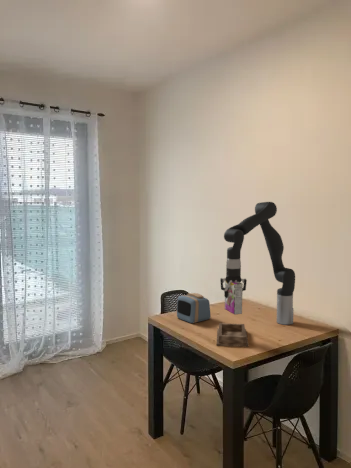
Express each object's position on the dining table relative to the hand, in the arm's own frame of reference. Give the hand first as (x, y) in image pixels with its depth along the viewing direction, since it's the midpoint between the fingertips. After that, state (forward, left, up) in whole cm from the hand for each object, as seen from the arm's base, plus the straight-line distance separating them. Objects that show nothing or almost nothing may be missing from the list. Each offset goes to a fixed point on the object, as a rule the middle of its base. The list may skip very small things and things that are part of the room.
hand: (233, 297), depth 208 cm
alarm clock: (+23, -32, -22) cm, 46 cm away
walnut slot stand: (0, 0, -22) cm, 22 cm away
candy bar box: (0, 0, -8) cm, 8 cm away
